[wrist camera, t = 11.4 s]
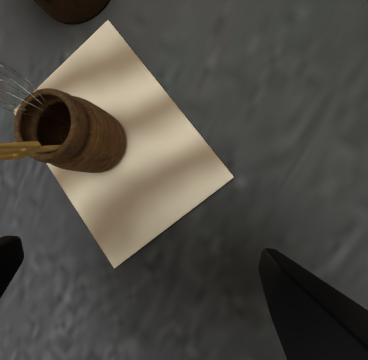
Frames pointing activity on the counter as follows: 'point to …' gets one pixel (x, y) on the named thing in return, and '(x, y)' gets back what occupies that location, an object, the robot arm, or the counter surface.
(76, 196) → the birch board
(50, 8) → the olive oil
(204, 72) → the counter surface
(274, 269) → the robot arm
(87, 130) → the utensil holder
